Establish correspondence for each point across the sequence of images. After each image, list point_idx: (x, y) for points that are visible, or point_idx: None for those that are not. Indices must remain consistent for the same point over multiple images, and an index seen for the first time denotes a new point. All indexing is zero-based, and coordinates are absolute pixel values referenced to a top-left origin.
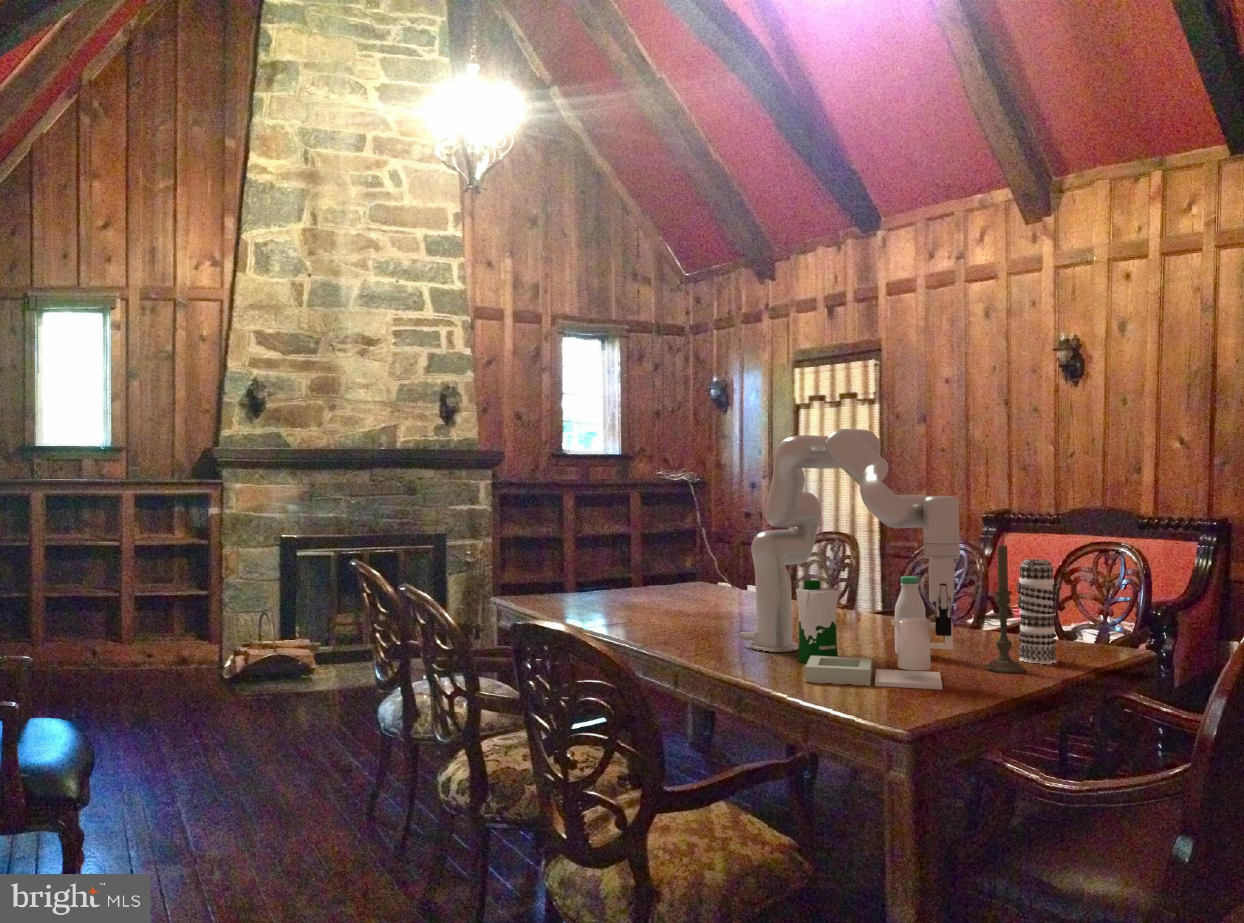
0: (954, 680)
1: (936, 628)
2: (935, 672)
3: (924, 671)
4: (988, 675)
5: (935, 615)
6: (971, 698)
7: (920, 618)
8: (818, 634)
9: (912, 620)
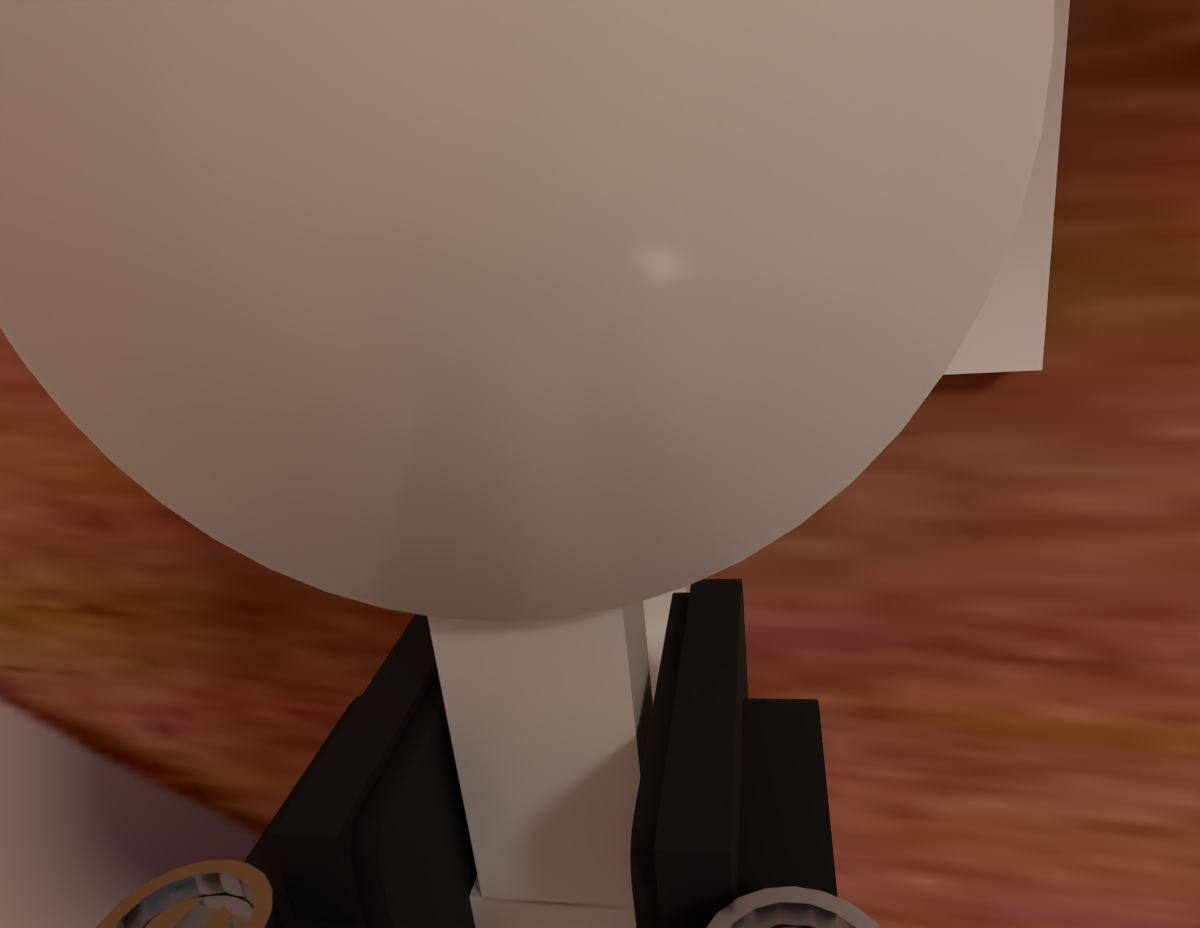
0: (845, 496)
1: (396, 656)
2: (1005, 325)
3: (1046, 193)
4: (1177, 789)
5: (715, 859)
6: (164, 594)
7: (928, 333)
8: None
9: (284, 81)
